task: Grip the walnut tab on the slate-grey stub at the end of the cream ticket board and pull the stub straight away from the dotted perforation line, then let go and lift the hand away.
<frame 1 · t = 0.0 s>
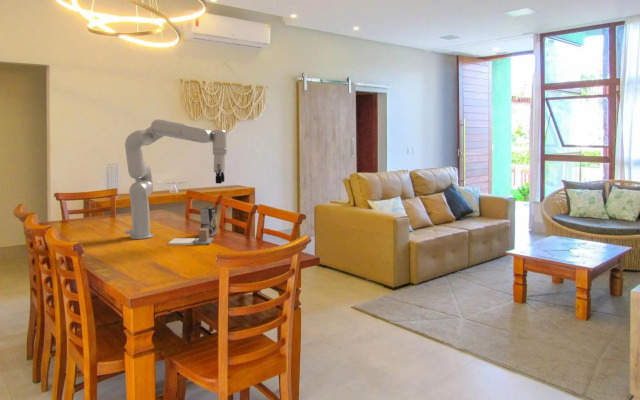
hand: (220, 182, 276), 31 cm above the table, fingers open, 9 cm apart
coffee box: (209, 235, 286), on the table
ticket board: (183, 242, 266), on the table
stub: (203, 235, 266), point 4 cm above the table, slide at 0.0 cm
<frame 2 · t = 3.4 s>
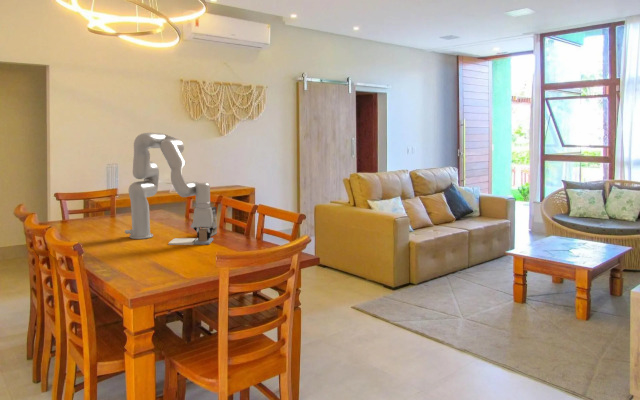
hand: (203, 239, 266), 2 cm above the table, fingers closed on stub, 4 cm apart
stub: (203, 235, 266), point 4 cm above the table, slide at 0.0 cm, touching gripper
everything else where it was.
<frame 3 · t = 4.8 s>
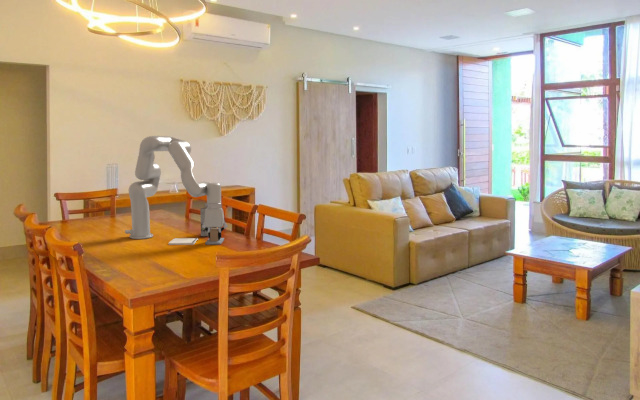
hand: (214, 238, 266), 2 cm above the table, fingers closed on stub, 4 cm apart
stub: (214, 235, 266), point 4 cm above the table, slide at 5.9 cm, touching gripper
everything else where it was.
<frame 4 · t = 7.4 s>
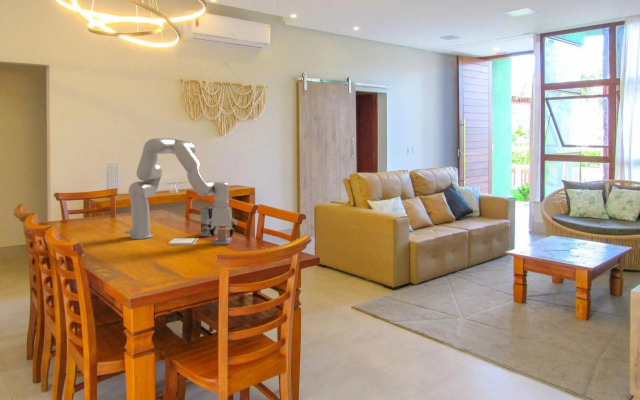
hand: (222, 236, 266), 3 cm above the table, fingers open, 9 cm apart
stub: (222, 235, 266), point 4 cm above the table, slide at 10.0 cm
everything else where it was.
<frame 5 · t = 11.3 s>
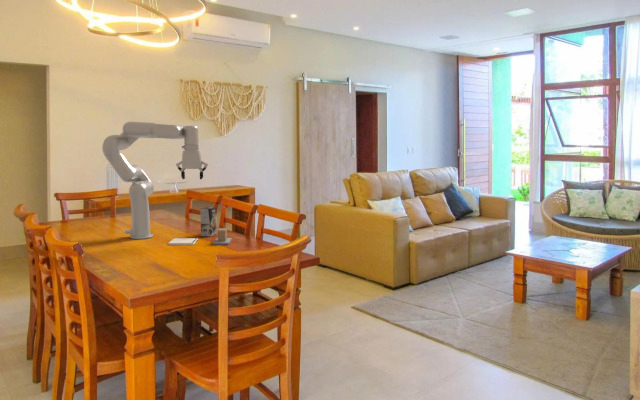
hand: (192, 179, 273), 33 cm above the table, fingers open, 9 cm apart
nothing on the table moved.
at the end: stub slide at 10.0 cm; the gripper is holding nothing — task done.
